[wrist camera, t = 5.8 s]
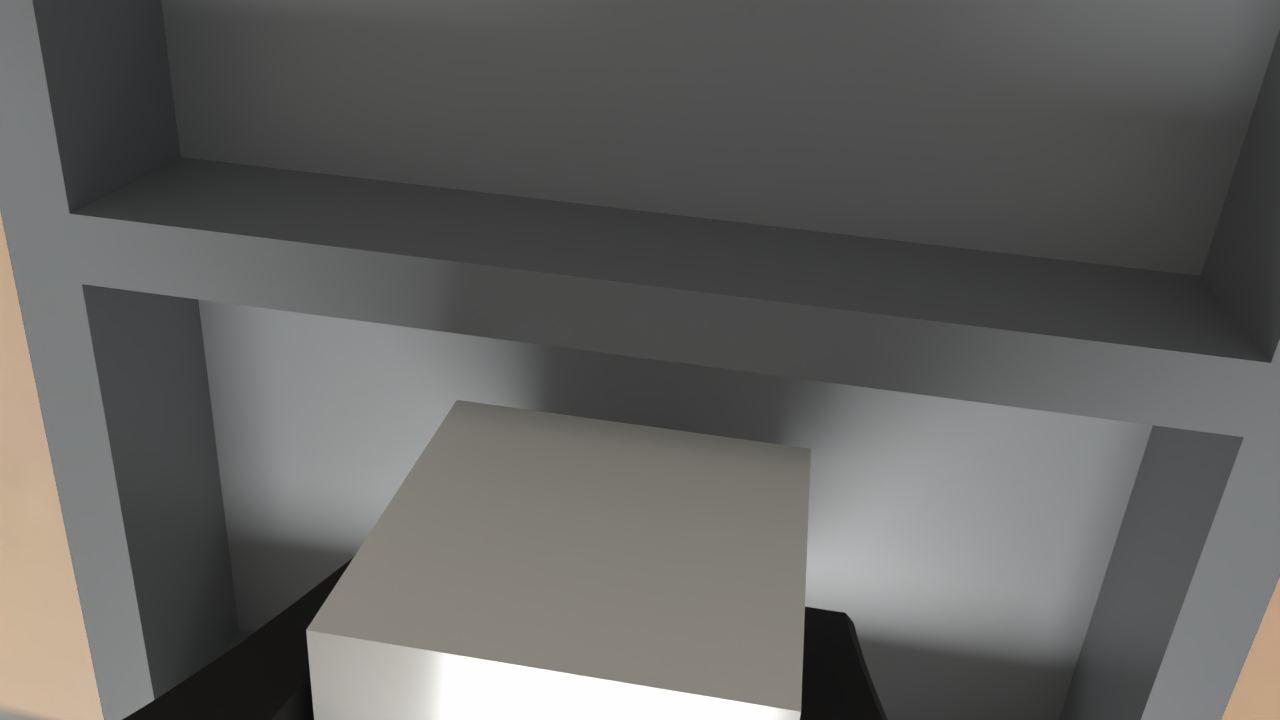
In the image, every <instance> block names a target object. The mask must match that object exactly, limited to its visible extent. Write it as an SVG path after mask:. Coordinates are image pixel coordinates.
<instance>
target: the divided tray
mask: <svg viewBox="0 0 1280 720" xmlns="http://www.w3.org/2000/svg"><path fill="white" fill-rule="evenodd" d="M0 211H1V216H2V221H3V226H4V230H5V235H6V240H7V245H8V250H9V255H10V260H11V265H12V270H13V275H14V280H15V285H16V289H17V294H18V299H19V304H20V309H21V314H22V319H23V324H24V329H25V334H26V339H27V343H28V348H29V353H30V358H31V363H32V368H33V373H34V378H35V383H36V388H37V393H38V397H39V402H40V407H41V412H42V417H43V422H44V427H45V432H46V437H47V442H48V447H49V451H50V456H51V461H52V466H53V471H54V476H55V481H56V486H57V491H58V496H59V501H60V505H61V510H62V515H63V520H64V525H65V530H66V535H67V540H68V545H69V550H70V555H71V559H72V564H73V569H74V574H75V579H76V584H77V589H78V594H79V599H80V604H81V609H82V613H83V618H84V623H85V628H86V633H87V638H88V643H89V648H90V653H91V658H92V663H93V667H94V672H95V677H96V682H97V687H98V692H99V697H100V702H101V707H102V712H103V717H104V720H122V719H124V718H126V717H127V716H129V715H131V714H132V713H134V712H136V711H137V710H139V709H141V708H142V707H144V706H146V705H147V704H149V703H151V702H152V701H154V700H155V699H157V698H159V697H160V696H162V695H163V694H165V693H166V692H168V691H169V690H171V689H172V688H174V687H175V686H177V685H178V684H180V683H181V682H183V681H184V680H186V679H187V678H189V677H190V676H192V675H193V674H195V673H196V672H198V671H199V670H201V669H202V668H204V667H205V666H207V665H208V664H210V663H211V662H213V661H214V660H216V659H217V658H219V657H220V656H222V655H223V654H225V653H226V652H227V651H229V650H230V649H232V648H233V647H234V646H236V645H237V644H239V643H240V642H241V641H243V640H244V639H245V638H247V637H248V636H249V635H251V634H252V633H254V632H255V631H256V630H258V629H259V628H260V627H262V626H263V625H265V624H266V623H267V622H269V621H270V620H271V619H273V618H274V617H275V616H277V615H278V614H280V613H281V612H282V611H284V610H285V609H286V608H288V607H289V606H290V605H292V604H293V603H294V602H295V601H297V600H298V599H299V598H301V597H302V596H303V595H305V594H306V593H307V592H309V591H310V590H311V589H313V588H314V587H315V586H316V585H318V584H319V583H320V582H322V581H323V580H324V579H326V578H327V577H328V576H329V575H331V574H332V573H333V572H335V571H336V570H337V569H339V568H340V567H341V566H343V565H344V564H345V563H346V562H348V561H349V560H350V559H352V558H353V557H354V556H355V555H356V553H357V552H358V550H359V549H360V547H361V546H362V544H363V543H364V541H365V540H366V538H367V536H368V535H369V533H370V532H371V530H372V529H373V527H374V526H375V524H376V523H377V521H378V520H379V518H380V517H381V515H382V514H383V512H384V511H385V509H386V507H387V506H388V504H389V503H390V501H391V500H392V498H393V497H394V495H395V494H396V492H397V491H398V489H399V488H400V486H401V485H402V483H403V482H404V480H405V478H406V477H407V475H408V474H409V472H410V471H411V469H412V468H413V466H414V465H415V463H416V462H417V460H418V459H419V457H420V456H421V454H422V452H423V451H424V449H425V448H426V446H427V445H428V443H429V442H430V440H431V439H432V437H433V436H434V434H435V433H436V431H437V430H438V428H439V427H440V425H441V423H442V422H443V420H444V419H445V417H446V416H447V414H448V413H449V411H450V410H451V408H452V407H453V405H454V404H455V402H456V401H457V400H461V401H469V402H476V403H483V404H490V405H498V406H505V407H512V408H519V409H527V410H534V411H541V412H548V413H556V414H563V415H570V416H577V417H585V418H592V419H599V420H606V421H614V422H621V423H628V424H635V425H643V426H650V427H657V428H664V429H672V430H679V431H686V432H693V433H701V434H708V435H715V436H722V437H729V438H737V439H744V440H751V441H758V442H766V443H773V444H780V445H787V446H795V447H802V448H809V449H811V460H810V487H809V513H808V540H807V566H806V593H805V607H811V608H818V609H824V610H831V611H837V612H844V613H846V614H847V615H848V616H849V618H850V619H851V620H852V621H853V623H854V625H855V630H856V634H857V637H858V641H859V644H860V647H861V650H862V654H863V657H864V660H865V663H866V665H867V668H868V671H869V674H870V677H871V679H872V682H873V684H874V687H875V690H876V692H877V695H878V697H879V700H880V702H881V705H882V707H883V710H884V712H885V714H886V717H887V719H888V720H1221V719H1222V716H1223V714H1224V711H1225V709H1226V706H1227V704H1228V702H1229V699H1230V697H1231V694H1232V692H1233V689H1234V687H1235V684H1236V682H1237V680H1238V677H1239V675H1240V672H1241V670H1242V667H1243V665H1244V662H1245V660H1246V658H1247V655H1248V653H1249V650H1250V648H1251V645H1252V643H1253V640H1254V638H1255V636H1256V633H1257V631H1258V628H1259V626H1260V623H1261V621H1262V618H1263V616H1264V614H1265V611H1266V609H1267V606H1268V604H1269V601H1270V599H1271V596H1272V594H1273V592H1274V589H1275V587H1276V584H1277V582H1278V579H1279V577H1280V0H0Z"/></svg>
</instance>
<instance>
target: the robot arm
mask: <svg viewBox="0 0 1280 720" xmlns="http://www.w3.org/2000/svg"><path fill="white" fill-rule="evenodd" d="M353 558H354V557H353ZM353 558H352V559H353ZM352 559H350V560H349V561H348V562H346V563H345V564H344V565H343V566H341V567H340V568H339V569H337V570H336V571H335V572H333V573H332V574H331V575H329V576H328V577H327V578H326V579H324V580H323V581H322V582H320V583H319V584H318V585H316V586H315V587H314V588H313V589H311V590H310V591H309V592H307V593H306V594H305V595H303V596H302V597H301V598H299V599H298V600H297V601H295V602H294V603H293V604H292V605H290V606H289V607H288V608H286V609H285V610H284V611H282V612H281V613H280V614H278V615H277V616H275V617H274V618H273V619H271V620H270V621H269V622H267V623H266V624H265V625H263V626H262V627H260V628H259V629H258V630H256V631H255V632H254V633H252V634H251V635H249V636H248V637H247V638H245V639H244V640H243V641H241V642H240V643H239V644H237V645H236V646H234V647H233V648H232V649H230V650H229V651H227V652H226V653H225V654H223V655H222V656H220V657H219V658H217V659H216V660H214V661H213V662H211V663H210V664H208V665H207V666H205V667H204V668H202V669H201V670H199V671H198V672H196V673H195V674H193V675H192V676H190V677H189V678H187V679H186V680H184V681H183V682H181V683H180V684H178V685H177V686H175V687H174V688H172V689H171V690H169V691H168V692H166V693H165V694H163V695H162V696H160V697H159V698H157V699H155V700H154V701H152V702H151V703H149V704H147V705H146V706H144V707H142V708H141V709H139V710H137V711H136V712H134V713H132V714H131V715H129V716H127V717H126V718H124V719H122V720H314V713H313V702H312V691H311V680H310V668H309V657H308V646H307V635H306V630H307V628H308V627H309V625H310V624H311V622H312V620H313V619H314V617H315V616H316V614H317V613H318V611H319V610H320V608H321V607H322V605H323V604H324V602H325V601H326V599H327V598H328V596H329V594H330V593H331V591H332V590H333V588H334V587H335V585H336V584H337V582H338V581H339V579H340V578H341V576H342V575H343V573H344V572H345V570H346V569H347V567H348V565H349V564H350V562H351V561H352ZM800 720H888V719H887V717H886V714H885V712H884V710H883V707H882V705H881V702H880V700H879V697H878V695H877V692H876V690H875V687H874V684H873V682H872V679H871V677H870V674H869V671H868V668H867V665H866V663H865V660H864V657H863V654H862V650H861V647H860V644H859V641H858V637H857V634H856V630H855V625H854V623H853V621H852V620H851V619H850V618H849V616H848V615H847V614H846V613H844V612H837V611H831V610H824V609H818V608H811V607H805V619H804V646H803V672H802V699H801V715H800Z"/></svg>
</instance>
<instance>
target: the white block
mask: <svg viewBox="0 0 1280 720" xmlns="http://www.w3.org/2000/svg"><path fill="white" fill-rule="evenodd" d="M810 460H811V449H809V448H802V447H795V446H787V445H780V444H773V443H766V442H758V441H751V440H744V439H737V438H729V437H722V436H715V435H708V434H701V433H693V432H686V431H679V430H672V429H664V428H657V427H650V426H643V425H635V424H628V423H621V422H614V421H606V420H599V419H592V418H585V417H577V416H570V415H563V414H556V413H548V412H541V411H534V410H527V409H519V408H512V407H505V406H498V405H490V404H483V403H476V402H469V401H461V400H457V401H456V402H455V404H454V405H453V407H452V408H451V410H450V411H449V413H448V414H447V416H446V417H445V419H444V420H443V422H442V423H441V425H440V427H439V428H438V430H437V431H436V433H435V434H434V436H433V437H432V439H431V440H430V442H429V443H428V445H427V446H426V448H425V449H424V451H423V452H422V454H421V456H420V457H419V459H418V460H417V462H416V463H415V465H414V466H413V468H412V469H411V471H410V472H409V474H408V475H407V477H406V478H405V480H404V482H403V483H402V485H401V486H400V488H399V489H398V491H397V492H396V494H395V495H394V497H393V498H392V500H391V501H390V503H389V504H388V506H387V507H386V509H385V511H384V512H383V514H382V515H381V517H380V518H379V520H378V521H377V523H376V524H375V526H374V527H373V529H372V530H371V532H370V533H369V535H368V536H367V538H366V540H365V541H364V543H363V544H362V546H361V547H360V549H359V550H358V552H357V553H356V555H355V556H354V558H353V559H352V561H351V562H350V564H349V565H348V567H347V569H346V570H345V572H344V573H343V575H342V576H341V578H340V579H339V581H338V582H337V584H336V585H335V587H334V588H333V590H332V591H331V593H330V594H329V596H328V598H327V599H326V601H325V602H324V604H323V605H322V607H321V608H320V610H319V611H318V613H317V614H316V616H315V617H314V619H313V620H312V622H311V624H310V625H309V627H308V628H307V630H306V635H307V646H308V657H309V668H310V680H311V691H312V702H313V713H314V720H800V715H801V699H802V672H803V646H804V619H805V593H806V566H807V540H808V513H809V487H810Z"/></svg>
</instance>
